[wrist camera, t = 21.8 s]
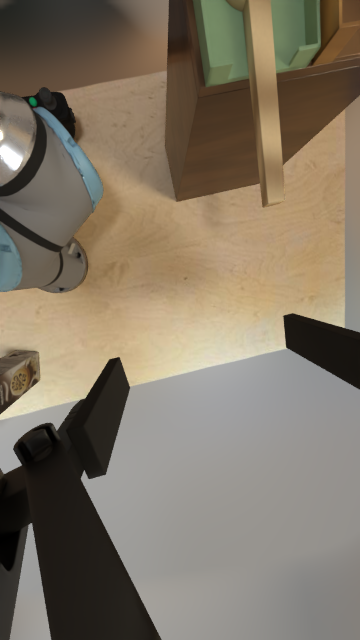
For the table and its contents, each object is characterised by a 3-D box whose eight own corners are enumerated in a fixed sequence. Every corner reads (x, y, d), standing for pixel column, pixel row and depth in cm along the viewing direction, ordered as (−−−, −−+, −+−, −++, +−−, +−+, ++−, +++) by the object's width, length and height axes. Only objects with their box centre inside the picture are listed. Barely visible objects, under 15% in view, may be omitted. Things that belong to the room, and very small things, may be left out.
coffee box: (41, 380, 54) (-8, 423, 38) (16, 379, 53) (-44, 422, 37) (39, 351, 52) (-13, 384, 36) (14, 349, 51) (-51, 382, 35)
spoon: (297, 199, 21) (307, 194, 20) (243, 212, 21) (250, 206, 19) (279, -97, 16) (292, -137, 14) (206, -85, 15) (211, -125, 14)
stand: (165, 145, 43) (171, -93, 15) (258, 126, 44) (425, -132, 16) (176, 201, 46) (199, 88, 18) (263, 182, 47) (413, 46, 19)
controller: (87, 146, 42) (65, 108, 32) (31, 152, 41) (-9, 115, 32) (82, 123, 41) (57, 76, 31) (24, 129, 40) (-19, 83, 31)
